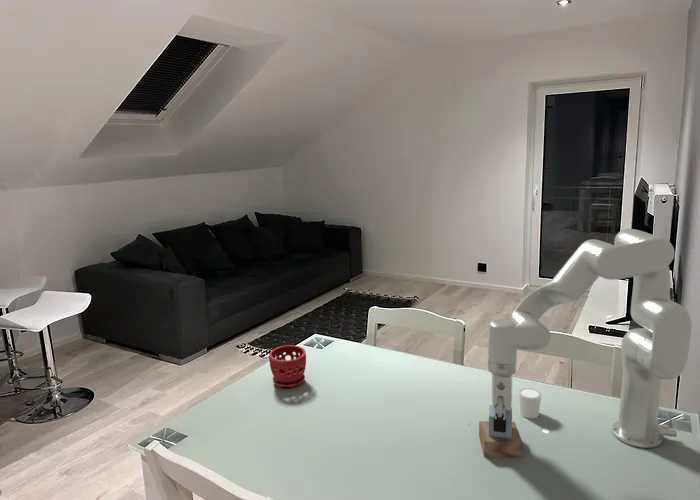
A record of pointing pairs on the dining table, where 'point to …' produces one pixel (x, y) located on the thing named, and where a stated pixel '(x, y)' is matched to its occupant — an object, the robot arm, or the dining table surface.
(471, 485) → the dining table surface
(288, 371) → the plant pot
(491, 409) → the slate cube
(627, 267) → the robot arm
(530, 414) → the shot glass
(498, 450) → the walnut block
